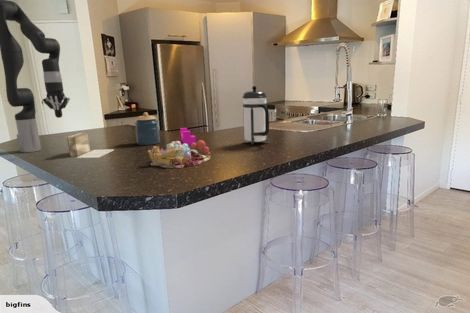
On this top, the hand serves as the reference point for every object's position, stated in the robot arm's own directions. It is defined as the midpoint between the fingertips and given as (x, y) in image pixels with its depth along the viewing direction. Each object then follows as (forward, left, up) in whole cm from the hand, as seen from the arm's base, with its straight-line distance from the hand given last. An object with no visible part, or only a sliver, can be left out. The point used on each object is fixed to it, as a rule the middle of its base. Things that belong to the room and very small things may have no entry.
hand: (59, 117), depth 164 cm
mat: (+16, 0, -19) cm, 25 cm away
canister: (+35, +25, -19) cm, 47 cm away
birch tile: (+8, 0, -19) cm, 20 cm away
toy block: (+58, +24, -19) cm, 66 cm away
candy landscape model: (+63, -19, -20) cm, 69 cm away
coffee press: (+97, +18, -19) cm, 101 cm away
